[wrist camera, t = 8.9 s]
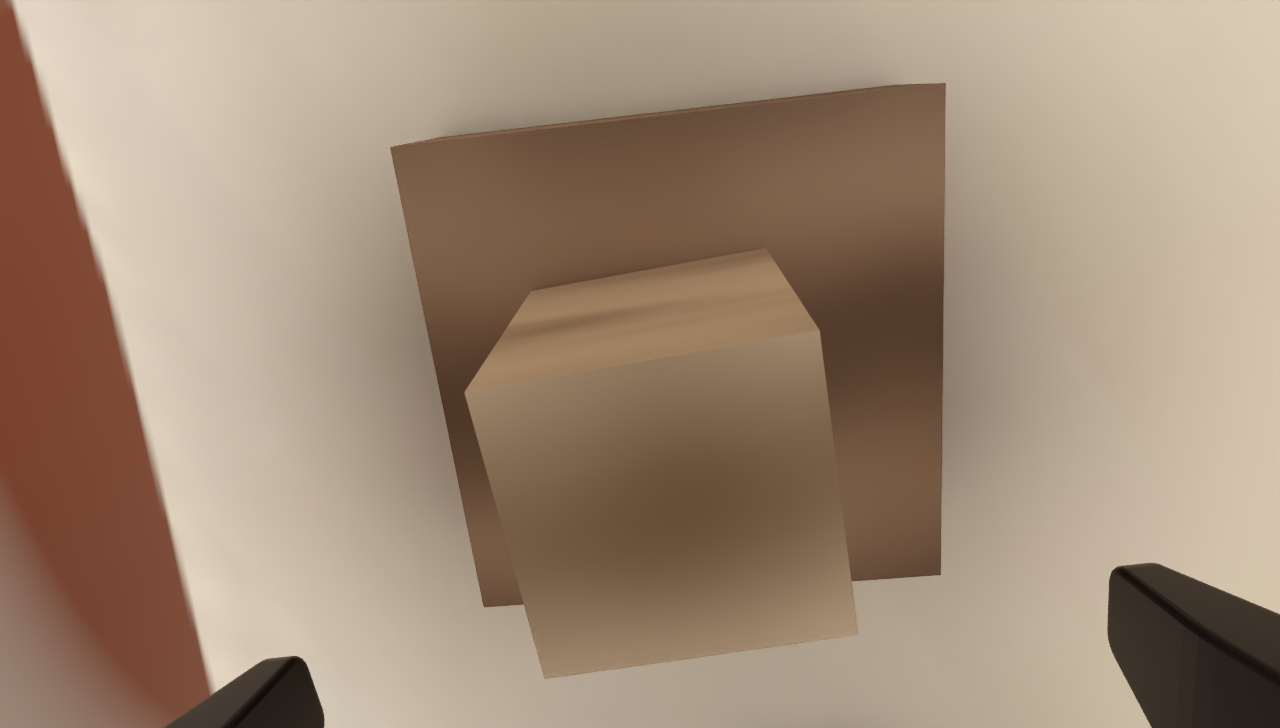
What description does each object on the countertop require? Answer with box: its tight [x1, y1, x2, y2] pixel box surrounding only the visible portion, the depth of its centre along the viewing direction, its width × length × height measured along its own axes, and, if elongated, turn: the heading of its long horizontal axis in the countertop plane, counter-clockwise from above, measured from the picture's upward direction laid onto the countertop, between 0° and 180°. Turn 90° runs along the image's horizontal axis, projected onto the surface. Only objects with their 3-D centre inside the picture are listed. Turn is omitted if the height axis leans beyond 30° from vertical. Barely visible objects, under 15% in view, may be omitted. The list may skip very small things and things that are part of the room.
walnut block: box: [390, 83, 946, 607], centre depth 19 cm, size 11×11×4 cm
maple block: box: [464, 248, 858, 679], centre depth 15 cm, size 5×5×6 cm
